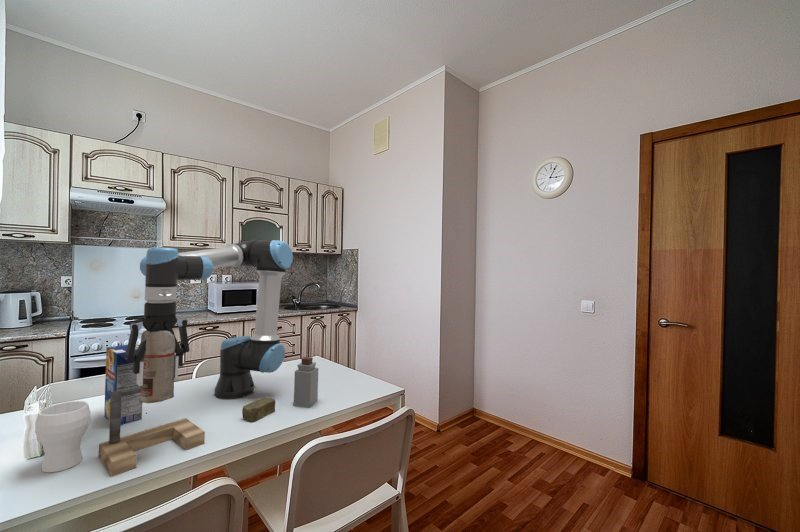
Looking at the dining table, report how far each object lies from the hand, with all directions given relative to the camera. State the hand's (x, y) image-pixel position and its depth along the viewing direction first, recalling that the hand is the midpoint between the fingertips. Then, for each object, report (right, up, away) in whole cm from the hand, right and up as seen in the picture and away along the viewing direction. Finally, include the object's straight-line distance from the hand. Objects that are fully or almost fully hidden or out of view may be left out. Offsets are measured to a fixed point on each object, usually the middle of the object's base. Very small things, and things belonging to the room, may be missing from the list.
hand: (157, 381), depth 100 cm
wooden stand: (-2, -20, +1) cm, 21 cm away
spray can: (0, -5, 0) cm, 5 cm away
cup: (-20, -20, -7) cm, 29 cm away
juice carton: (-26, -20, +21) cm, 39 cm away
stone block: (+18, -21, +27) cm, 39 cm away
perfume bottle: (+32, -22, +38) cm, 54 cm away
